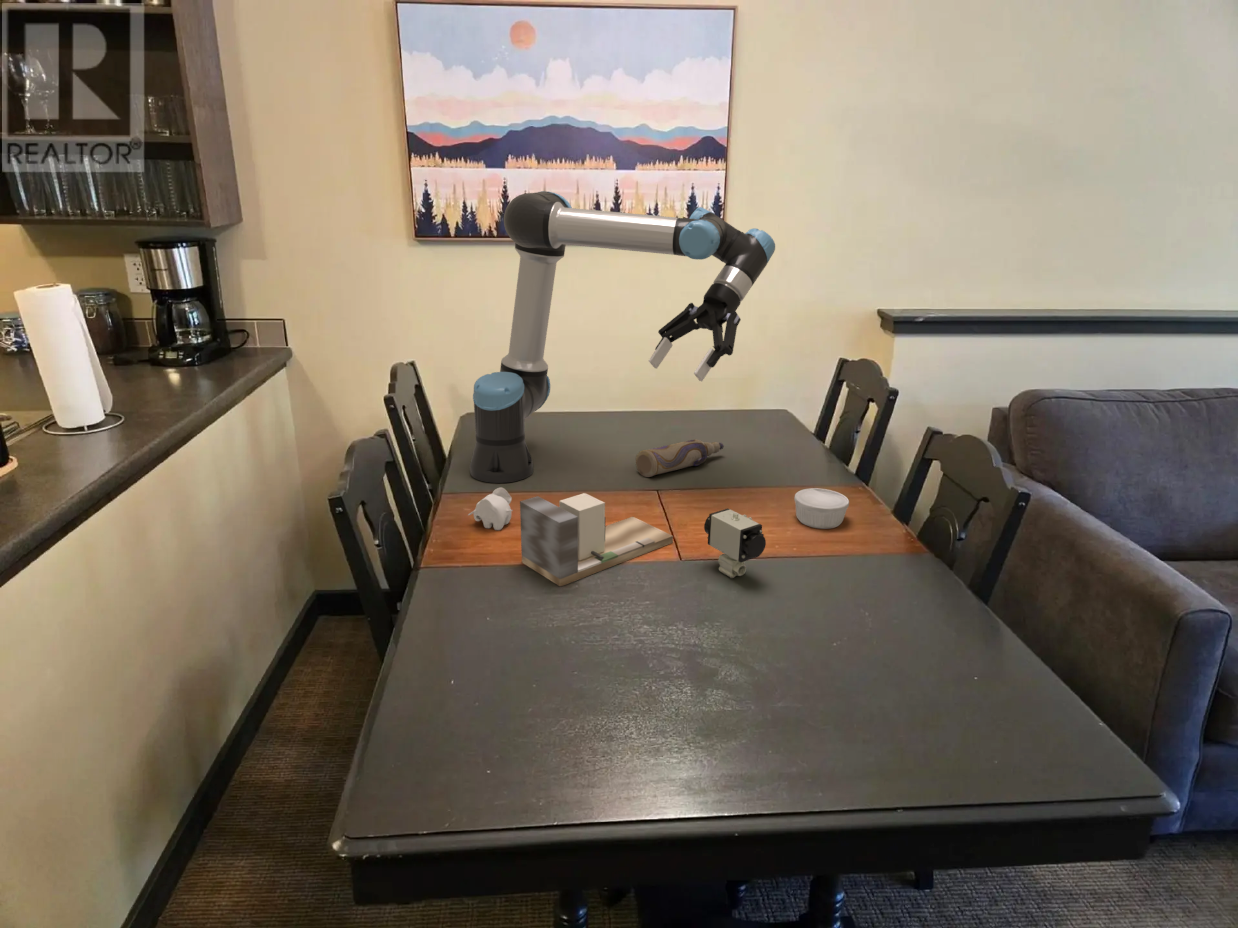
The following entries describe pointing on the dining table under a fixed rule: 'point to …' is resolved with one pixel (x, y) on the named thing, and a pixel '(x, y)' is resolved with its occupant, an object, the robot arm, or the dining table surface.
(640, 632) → the dining table surface
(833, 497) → the ramekin
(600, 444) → the dining table surface
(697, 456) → the decorative bottle
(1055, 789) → the dining table surface
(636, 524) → the board
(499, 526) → the elephant figurine
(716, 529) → the pneumatic valve
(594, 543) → the block
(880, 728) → the dining table surface
